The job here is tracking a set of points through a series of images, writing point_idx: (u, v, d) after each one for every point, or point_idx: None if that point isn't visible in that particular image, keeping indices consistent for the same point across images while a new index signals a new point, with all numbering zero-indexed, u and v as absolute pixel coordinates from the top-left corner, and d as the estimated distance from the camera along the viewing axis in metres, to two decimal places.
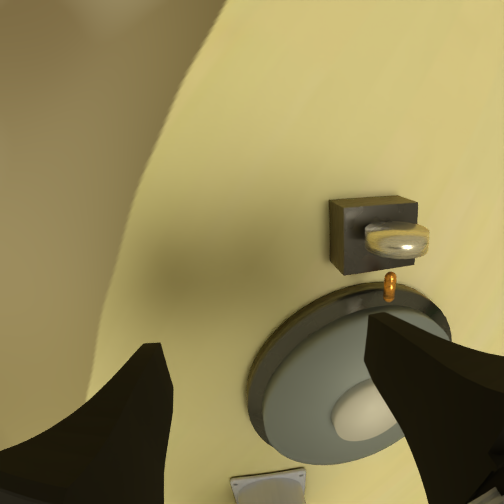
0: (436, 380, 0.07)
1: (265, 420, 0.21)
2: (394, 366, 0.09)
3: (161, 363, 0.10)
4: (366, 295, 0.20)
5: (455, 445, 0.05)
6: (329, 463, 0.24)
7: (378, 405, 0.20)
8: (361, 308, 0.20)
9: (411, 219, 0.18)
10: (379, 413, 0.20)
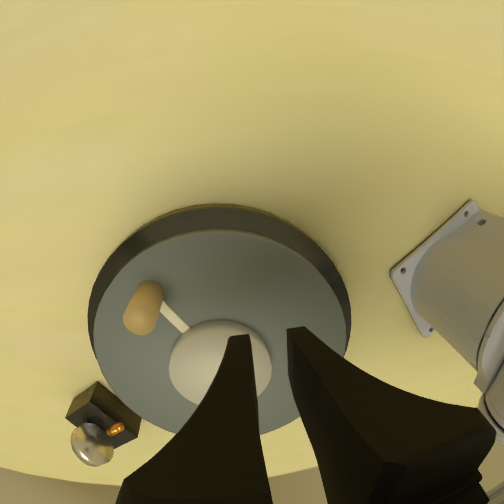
0: (329, 411, 0.06)
1: (282, 425, 0.21)
2: (304, 386, 0.09)
3: None
4: None
5: (344, 486, 0.05)
6: (341, 320, 0.19)
7: (204, 381, 0.18)
8: None
9: (74, 417, 0.21)
10: (213, 370, 0.18)
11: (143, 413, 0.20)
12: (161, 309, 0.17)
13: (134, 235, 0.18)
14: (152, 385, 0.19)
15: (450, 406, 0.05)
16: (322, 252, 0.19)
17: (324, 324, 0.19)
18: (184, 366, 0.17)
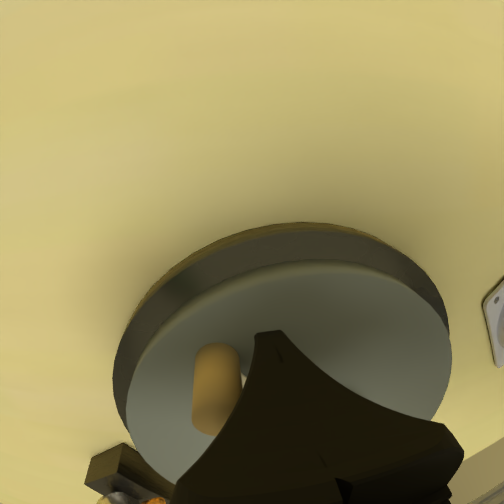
0: None
1: None
2: None
3: None
4: None
5: None
6: (448, 368, 0.13)
7: None
8: None
9: (97, 484, 0.15)
10: None
11: None
12: None
13: (187, 270, 0.12)
14: None
15: (415, 420, 0.04)
16: (434, 287, 0.13)
17: (431, 375, 0.13)
18: None
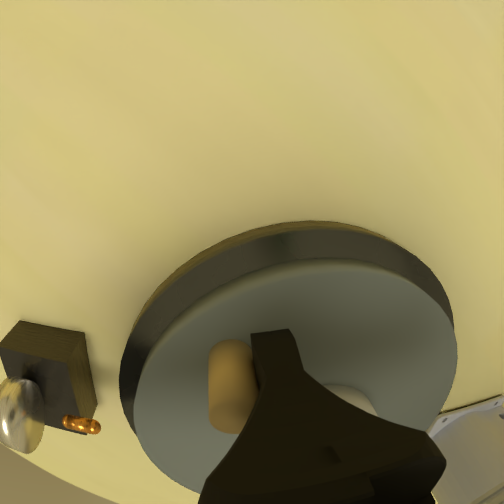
0: None
1: None
2: None
3: None
4: (123, 403, 0.14)
5: None
6: (453, 368, 0.13)
7: None
8: None
9: (15, 358, 0.11)
10: None
11: (195, 487, 0.14)
12: None
13: (370, 237, 0.12)
14: (214, 461, 0.13)
15: (396, 426, 0.04)
16: None
17: (437, 375, 0.13)
18: None
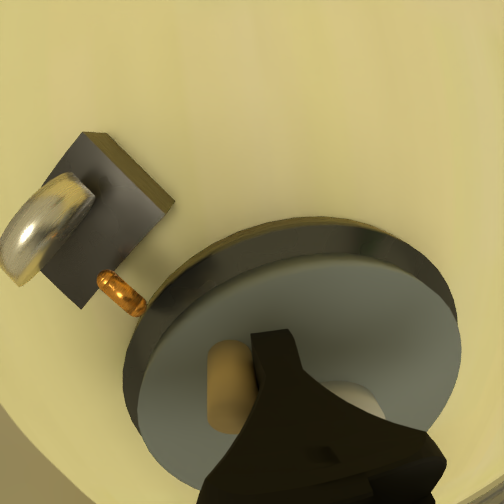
0: None
1: None
2: None
3: None
4: (160, 301, 0.12)
5: None
6: (457, 359, 0.13)
7: None
8: (172, 320, 0.12)
9: (93, 162, 0.09)
10: None
11: None
12: None
13: (451, 297, 0.14)
14: None
15: (396, 426, 0.04)
16: None
17: (441, 367, 0.13)
18: None
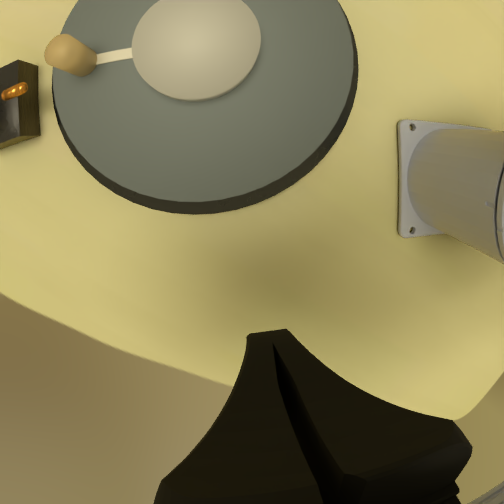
0: (302, 416, 0.06)
1: (351, 63, 0.14)
2: (282, 390, 0.08)
3: None
4: None
5: None
6: None
7: (190, 60, 0.12)
8: None
9: None
10: (184, 41, 0.12)
11: (206, 191, 0.16)
12: (102, 60, 0.13)
13: None
14: (173, 139, 0.15)
15: (424, 416, 0.04)
16: (352, 36, 0.15)
17: None
18: (157, 65, 0.12)
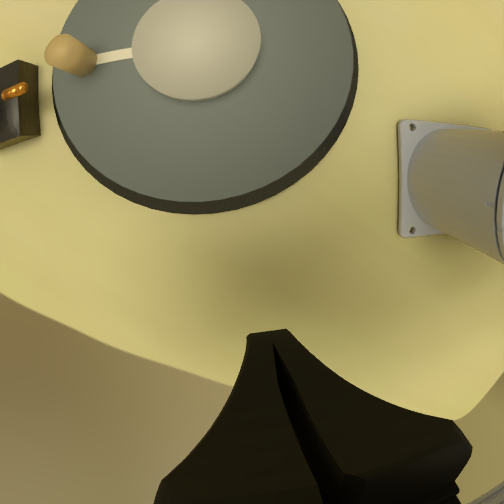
0: (302, 416, 0.06)
1: (351, 63, 0.14)
2: (283, 390, 0.09)
3: None
4: None
5: None
6: None
7: (190, 60, 0.12)
8: None
9: None
10: (185, 41, 0.12)
11: (206, 191, 0.16)
12: (102, 60, 0.13)
13: None
14: (173, 139, 0.15)
15: (424, 416, 0.04)
16: (352, 36, 0.15)
17: None
18: (157, 65, 0.12)
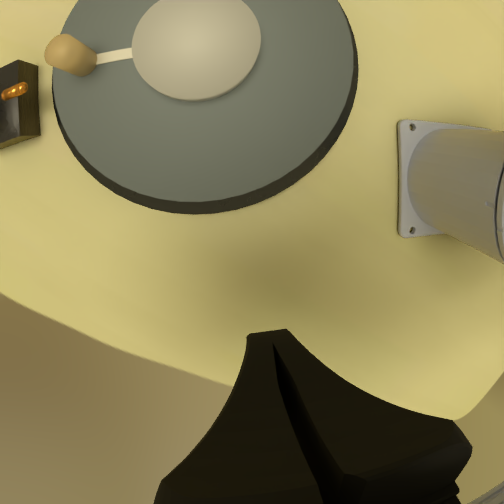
0: (302, 416, 0.06)
1: (351, 63, 0.14)
2: (283, 390, 0.09)
3: None
4: None
5: None
6: None
7: (190, 60, 0.12)
8: None
9: None
10: (185, 41, 0.12)
11: (206, 191, 0.16)
12: (102, 60, 0.13)
13: None
14: (173, 139, 0.15)
15: (424, 416, 0.04)
16: (352, 36, 0.15)
17: None
18: (157, 65, 0.12)
